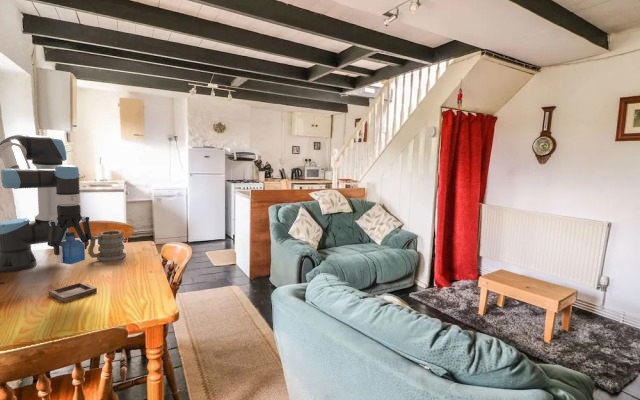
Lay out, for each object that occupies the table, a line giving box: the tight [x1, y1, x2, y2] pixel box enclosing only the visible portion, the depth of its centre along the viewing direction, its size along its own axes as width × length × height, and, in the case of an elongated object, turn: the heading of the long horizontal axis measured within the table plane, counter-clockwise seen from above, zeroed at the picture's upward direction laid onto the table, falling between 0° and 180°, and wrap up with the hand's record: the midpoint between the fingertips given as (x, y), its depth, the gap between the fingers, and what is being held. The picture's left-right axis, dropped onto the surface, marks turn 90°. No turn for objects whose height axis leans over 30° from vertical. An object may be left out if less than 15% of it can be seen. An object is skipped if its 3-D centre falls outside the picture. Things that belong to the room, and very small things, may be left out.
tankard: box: [87, 230, 127, 262], centre depth 180 cm, size 20×13×15 cm, turn 144°
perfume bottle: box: [57, 231, 86, 265], centre depth 135 cm, size 6×6×12 cm
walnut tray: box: [48, 281, 98, 304], centre depth 137 cm, size 12×12×2 cm
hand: (71, 259), depth 135 cm, fingers closed on perfume bottle, 7 cm apart
